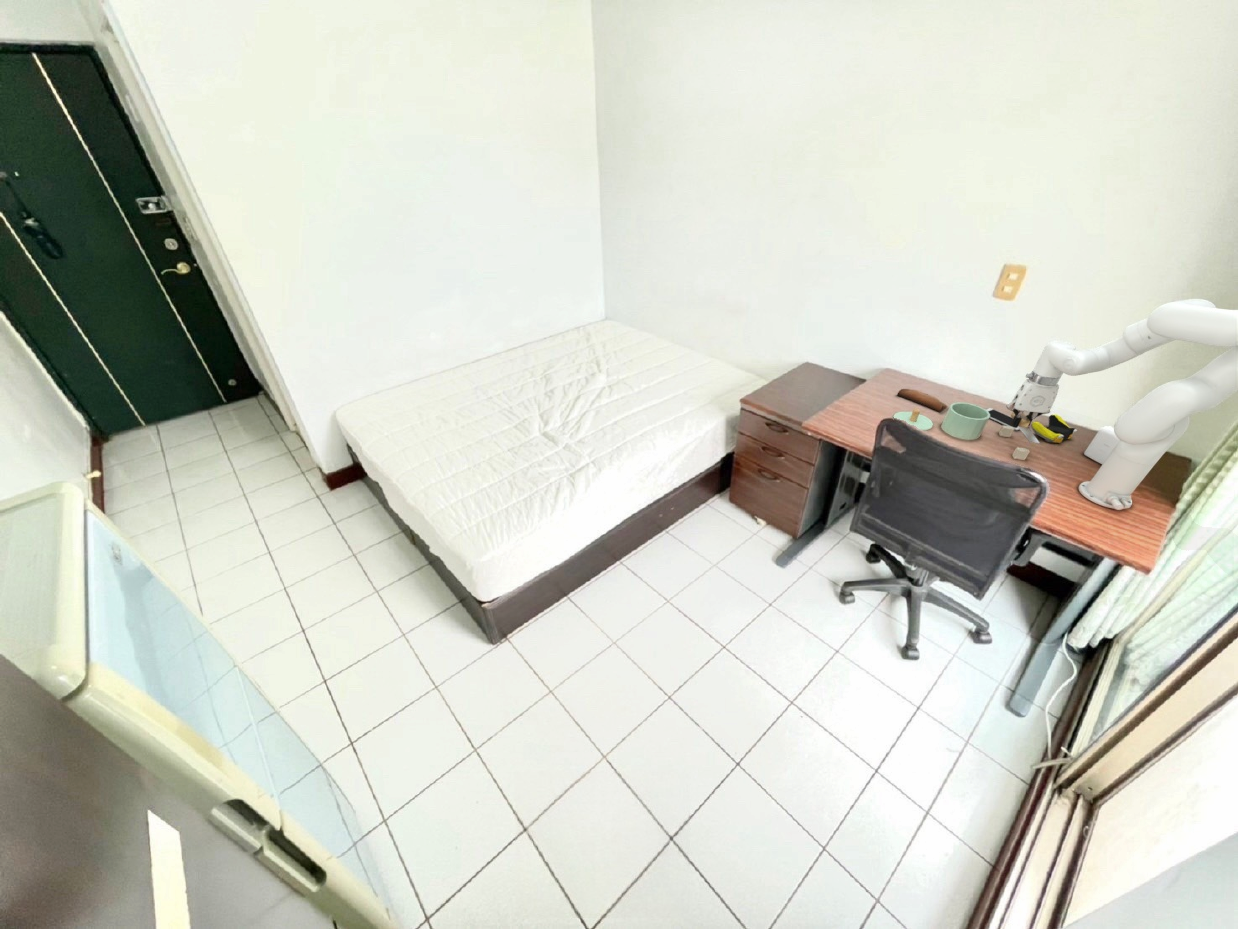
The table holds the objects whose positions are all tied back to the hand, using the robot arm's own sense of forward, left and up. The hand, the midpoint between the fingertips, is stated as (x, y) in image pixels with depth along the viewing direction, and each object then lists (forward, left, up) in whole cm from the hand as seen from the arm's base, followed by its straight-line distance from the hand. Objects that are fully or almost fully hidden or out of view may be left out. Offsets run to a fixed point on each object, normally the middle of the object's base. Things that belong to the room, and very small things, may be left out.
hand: (1019, 426), depth 171 cm
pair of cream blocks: (-2, 0, -7) cm, 7 cm away
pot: (+4, +15, -7) cm, 17 cm away
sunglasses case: (+24, +24, -7) cm, 35 cm away
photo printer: (-4, -26, -7) cm, 27 cm away
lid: (+6, +31, -6) cm, 32 cm away
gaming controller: (+10, -16, -7) cm, 20 cm away
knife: (-2, 0, +1) cm, 3 cm away
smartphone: (+18, -3, -7) cm, 19 cm away
